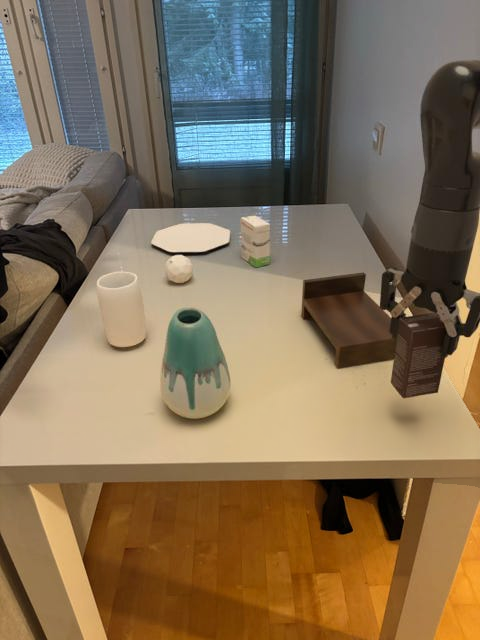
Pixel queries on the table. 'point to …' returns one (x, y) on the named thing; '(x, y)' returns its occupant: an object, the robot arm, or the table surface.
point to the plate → (191, 238)
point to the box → (418, 355)
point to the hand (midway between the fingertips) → (420, 345)
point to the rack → (349, 319)
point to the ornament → (178, 268)
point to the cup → (121, 308)
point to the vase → (193, 366)
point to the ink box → (255, 241)
